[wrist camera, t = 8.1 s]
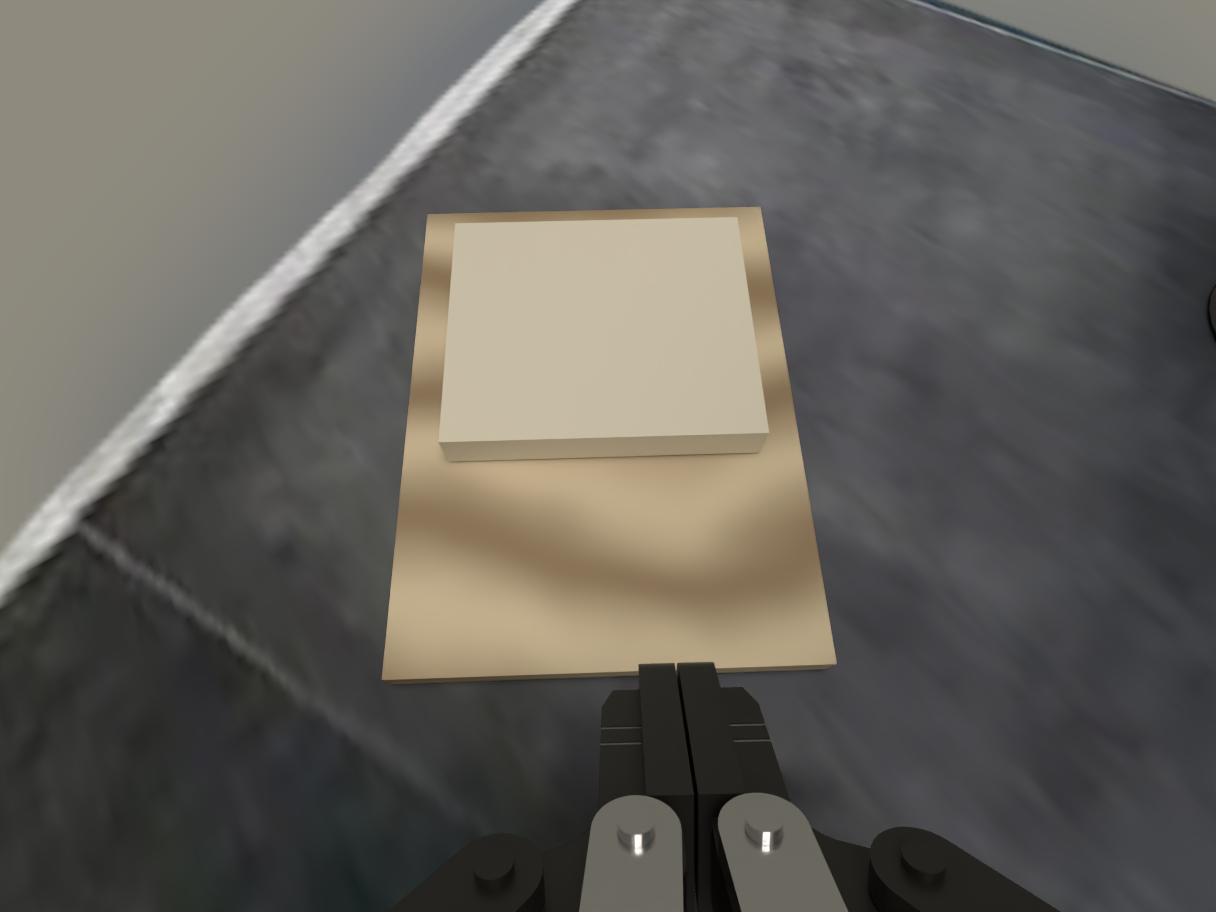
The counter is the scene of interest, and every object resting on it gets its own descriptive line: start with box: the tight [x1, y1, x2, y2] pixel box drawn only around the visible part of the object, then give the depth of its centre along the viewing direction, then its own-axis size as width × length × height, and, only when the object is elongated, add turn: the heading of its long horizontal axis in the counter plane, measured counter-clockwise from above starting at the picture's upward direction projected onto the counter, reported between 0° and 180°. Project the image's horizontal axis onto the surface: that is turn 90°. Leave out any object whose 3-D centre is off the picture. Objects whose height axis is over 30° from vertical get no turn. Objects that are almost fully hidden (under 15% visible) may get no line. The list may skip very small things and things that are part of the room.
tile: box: [438, 217, 769, 462], centre depth 32 cm, size 14×2×12 cm
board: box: [382, 207, 837, 684], centre depth 33 cm, size 24×18×2 cm
